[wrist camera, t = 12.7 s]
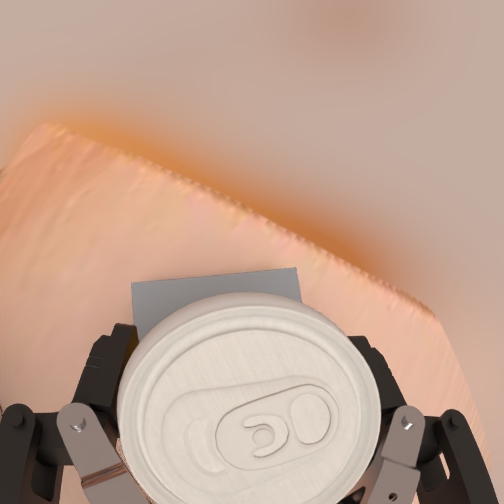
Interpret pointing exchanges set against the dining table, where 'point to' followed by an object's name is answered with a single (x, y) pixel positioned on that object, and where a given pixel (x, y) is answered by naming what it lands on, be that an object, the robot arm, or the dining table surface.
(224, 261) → the dining table surface
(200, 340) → the beer can
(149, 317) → the grey plinth block
